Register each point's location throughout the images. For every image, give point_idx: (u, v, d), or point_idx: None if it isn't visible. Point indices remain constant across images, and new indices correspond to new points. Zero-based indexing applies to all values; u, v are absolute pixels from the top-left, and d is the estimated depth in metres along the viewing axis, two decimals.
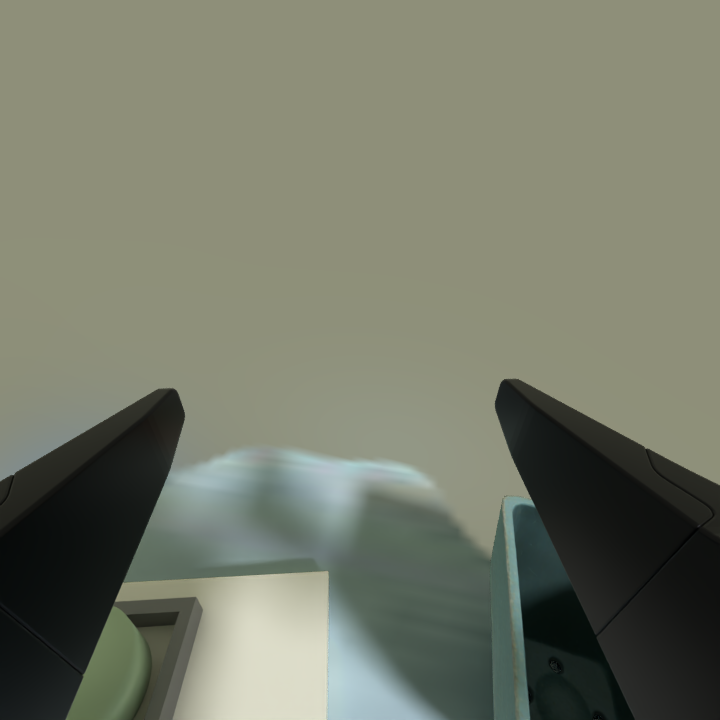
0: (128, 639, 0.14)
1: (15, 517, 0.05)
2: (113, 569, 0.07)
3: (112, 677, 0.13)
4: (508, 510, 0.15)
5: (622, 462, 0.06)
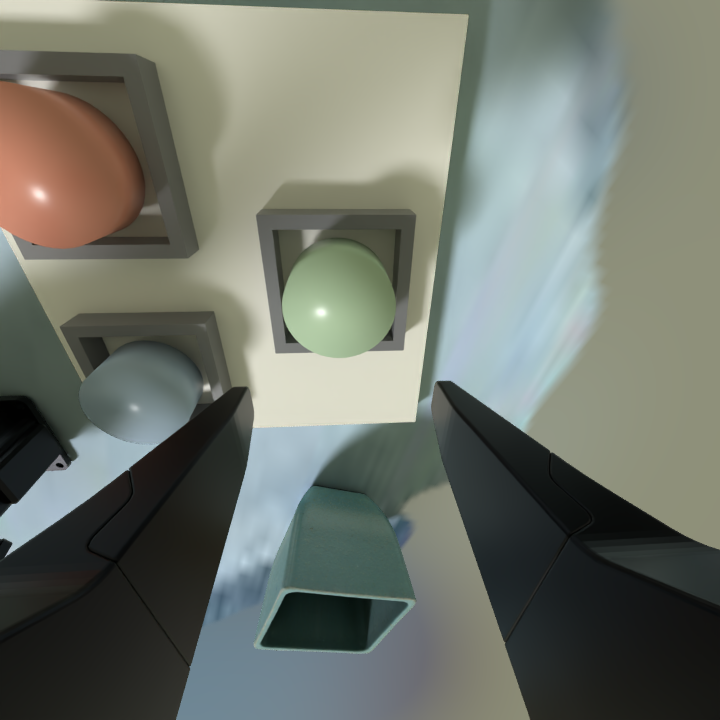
0: (363, 349, 0.16)
1: (149, 511, 0.05)
2: (210, 563, 0.07)
3: (337, 350, 0.15)
4: (404, 600, 0.21)
5: (520, 466, 0.06)
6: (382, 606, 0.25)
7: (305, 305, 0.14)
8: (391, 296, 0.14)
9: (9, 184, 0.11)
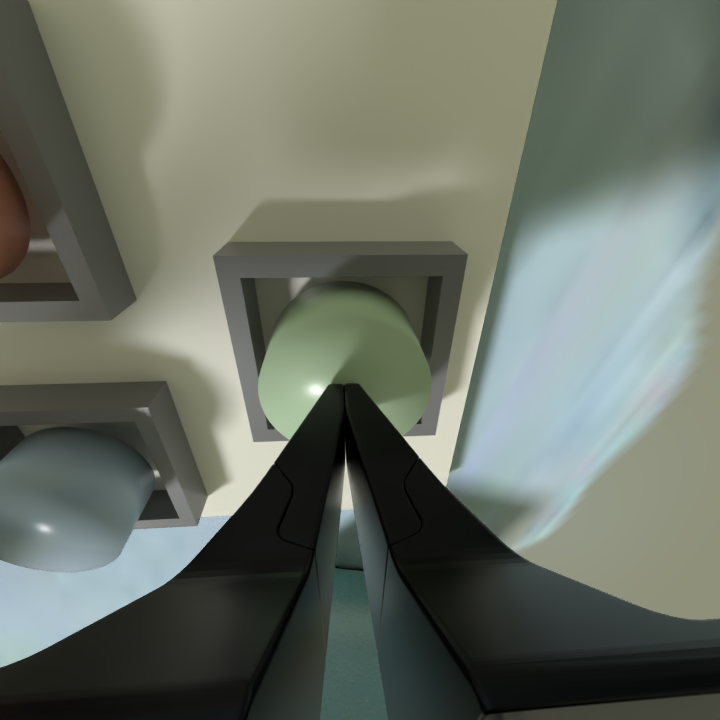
0: None
1: (317, 502, 0.05)
2: (334, 556, 0.07)
3: None
4: None
5: (378, 473, 0.06)
6: None
7: (293, 389, 0.09)
8: (425, 376, 0.09)
9: None
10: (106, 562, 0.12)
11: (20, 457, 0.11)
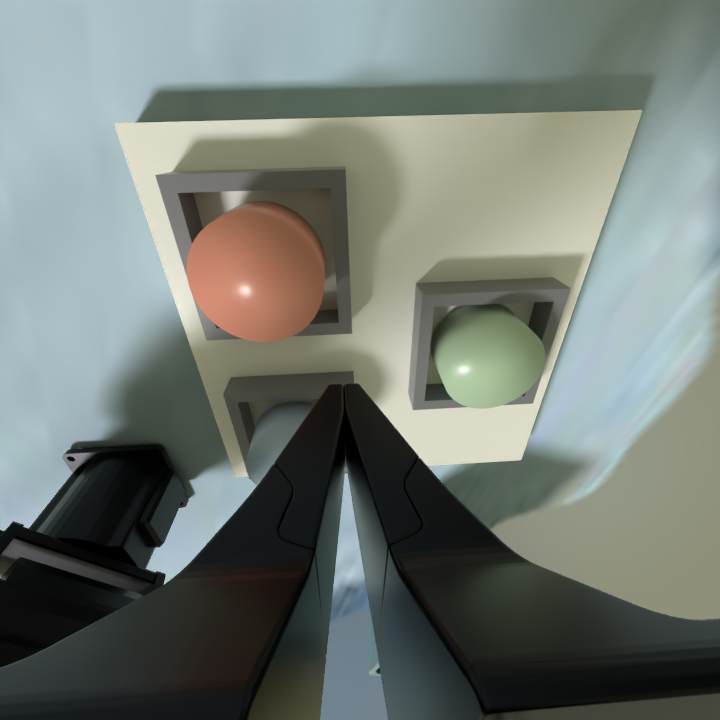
0: (506, 401, 0.17)
1: (317, 502, 0.05)
2: (334, 556, 0.07)
3: (483, 402, 0.17)
4: None
5: (378, 473, 0.06)
6: None
7: (464, 367, 0.16)
8: (542, 357, 0.16)
9: (236, 293, 0.12)
10: None
11: (282, 419, 0.17)
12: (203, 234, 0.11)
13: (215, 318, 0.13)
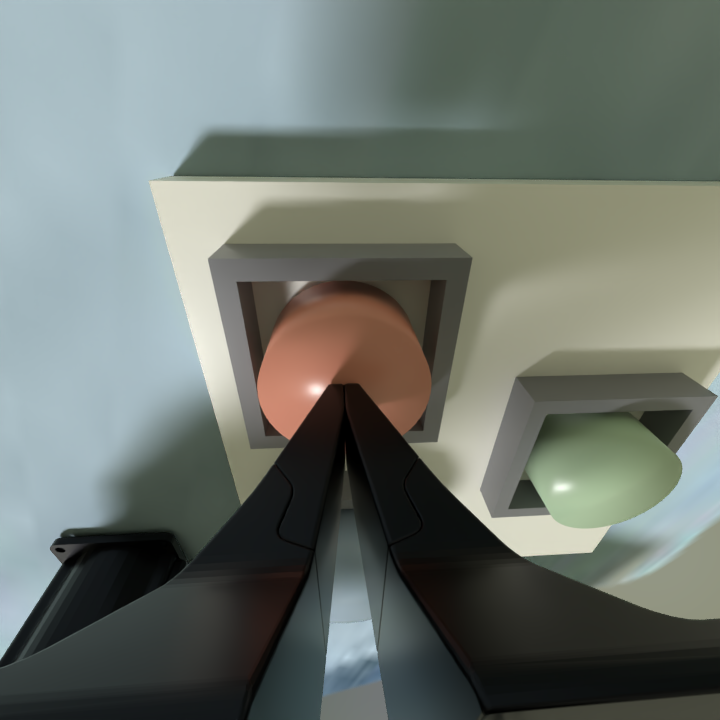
0: (617, 521, 0.14)
1: (317, 502, 0.05)
2: (334, 556, 0.07)
3: (589, 522, 0.14)
4: None
5: (378, 473, 0.06)
6: None
7: (579, 489, 0.13)
8: (675, 479, 0.13)
9: None
10: None
11: (338, 539, 0.14)
12: (287, 339, 0.08)
13: (285, 430, 0.10)
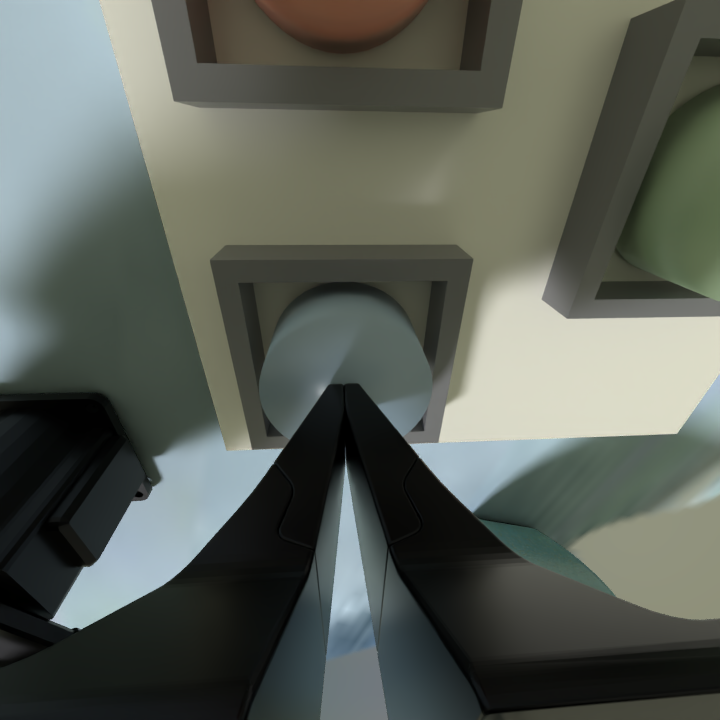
0: None
1: (317, 502, 0.05)
2: (334, 556, 0.07)
3: None
4: None
5: (378, 473, 0.06)
6: None
7: None
8: None
9: None
10: None
11: (331, 299, 0.09)
12: None
13: None
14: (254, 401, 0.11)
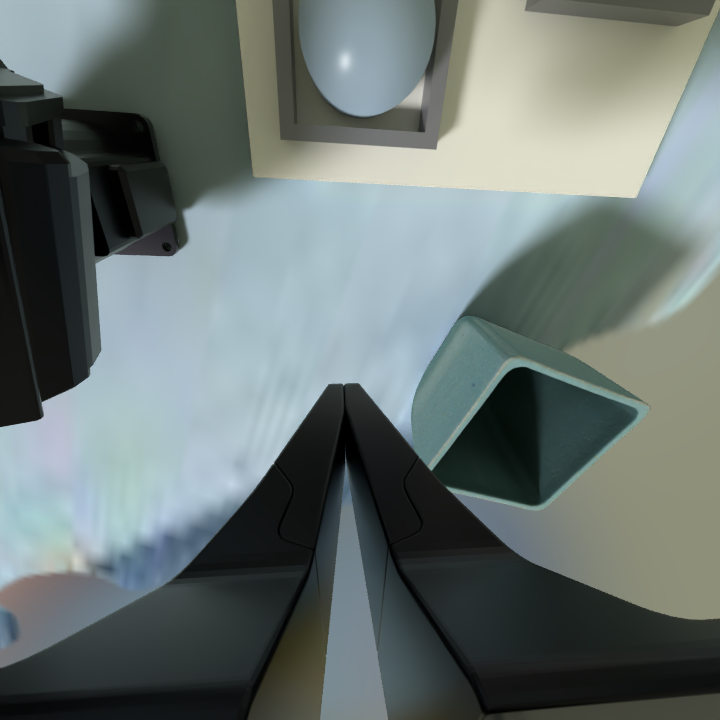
0: None
1: (317, 502, 0.05)
2: (334, 556, 0.07)
3: None
4: (638, 406, 0.16)
5: (378, 472, 0.06)
6: (568, 446, 0.20)
7: None
8: None
9: None
10: (397, 101, 0.13)
11: None
12: None
13: None
14: (287, 74, 0.13)
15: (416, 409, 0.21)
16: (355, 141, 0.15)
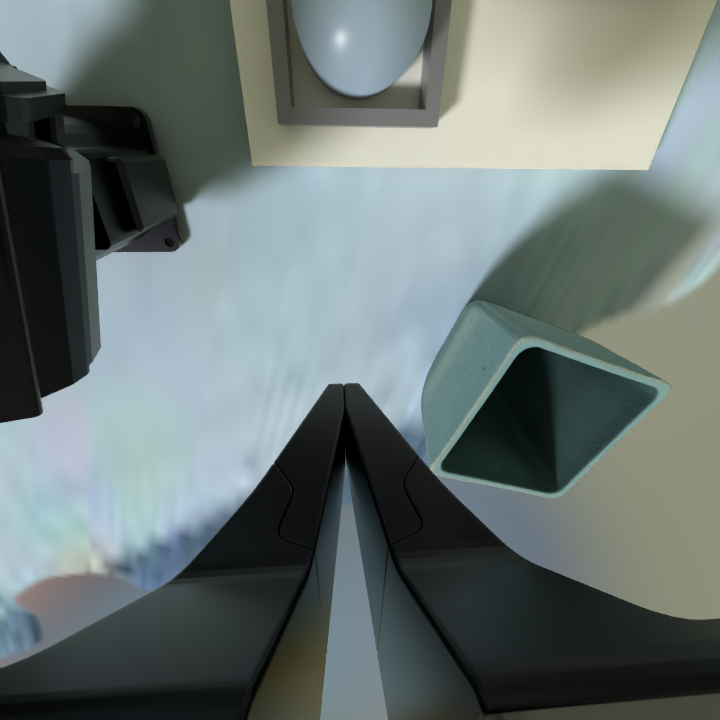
0: None
1: (317, 503, 0.05)
2: (334, 556, 0.07)
3: None
4: (658, 385, 0.16)
5: (378, 473, 0.06)
6: (585, 430, 0.19)
7: None
8: None
9: None
10: (396, 76, 0.13)
11: None
12: None
13: None
14: (282, 55, 0.13)
15: (426, 398, 0.21)
16: (354, 122, 0.14)
